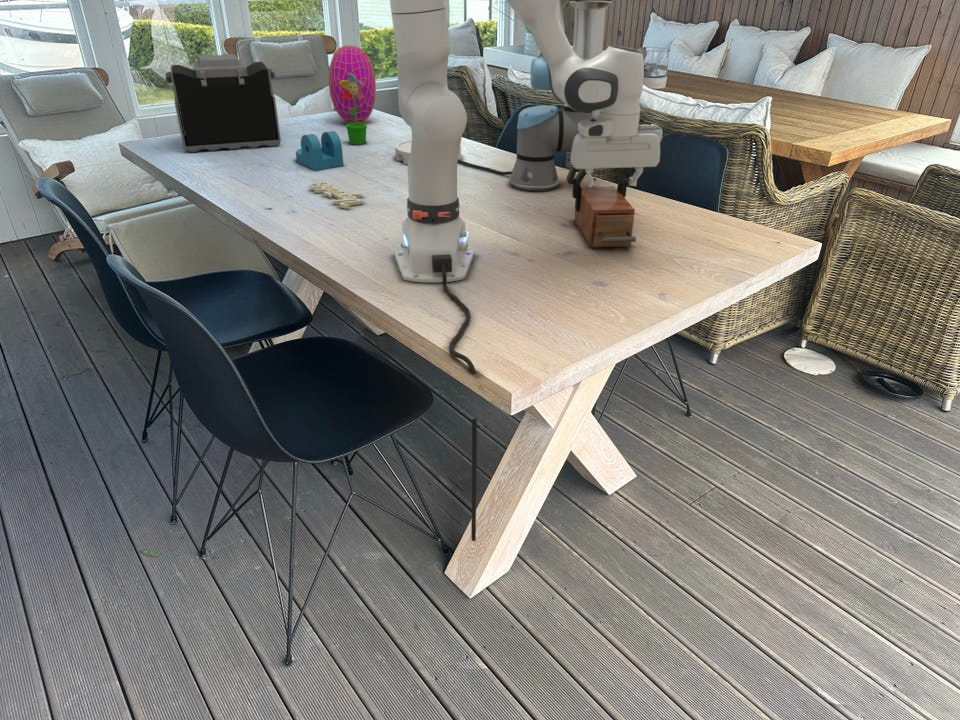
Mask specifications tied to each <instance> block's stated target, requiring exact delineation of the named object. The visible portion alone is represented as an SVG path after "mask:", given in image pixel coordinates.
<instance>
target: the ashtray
mask: <svg viewBox="0 0 960 720" xmlns="http://www.w3.org/2000/svg"><path fill="white" fill-rule="evenodd" d="M411 144H412V139H408V140H404V141H399V142H398V143H396V144H395V146H394V150H395V151H394V152H395V153H394V154H395V160H396V161H397V162H403V164H404V165H408V162H409V159H410V153H411ZM461 158H462V145H461V144H460V150H459V155H458V159H459V160H462V159H461Z"/></svg>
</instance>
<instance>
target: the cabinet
mask: <svg viewBox="0 0 960 720" xmlns="http://www.w3.org/2000/svg"><path fill="white" fill-rule="evenodd" d="M581 187H582V190H581V201H580V212H577V211H576V210H575V209H574V216H573V223H574V224H575V226H576V227H577V229H578V231H579V232H580V234H581V235H582V237H583V239H584V240H585V242H586V244H587V245H588V247H589V248H626V247H627V248H630V247H631V245H630V246H596V247H595V246H594V235H595V225H596V216H597V214H627V215H634V216H635V211H636V209H635V208H634V207H633V205H631V203H630V202H629V201H628V200H627V199H626V197H623V195H622V194H621V193H620V192H619V191H618V190H617V187H616V186H615V185H602V186H601V185H600V186H598V185H597V187H592V188H590V187H589V186H581Z"/></svg>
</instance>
